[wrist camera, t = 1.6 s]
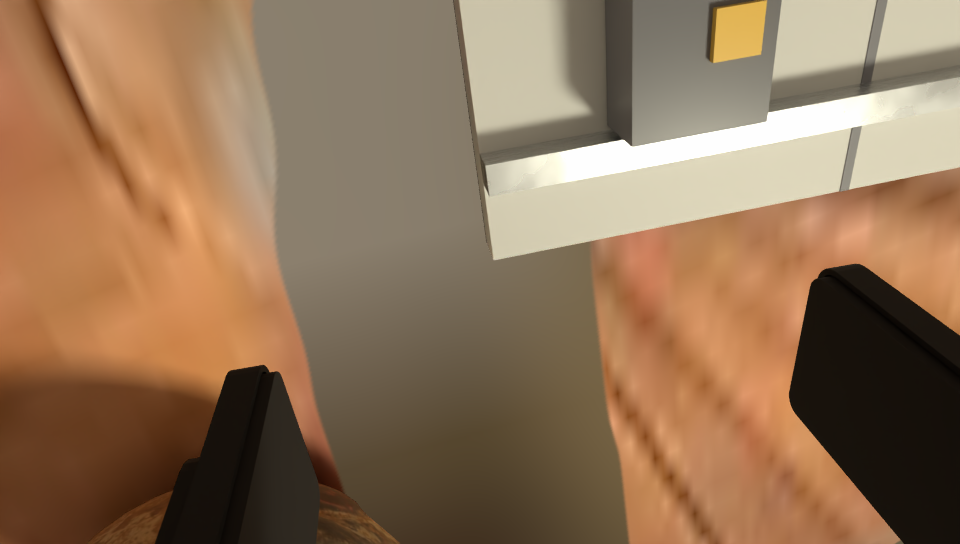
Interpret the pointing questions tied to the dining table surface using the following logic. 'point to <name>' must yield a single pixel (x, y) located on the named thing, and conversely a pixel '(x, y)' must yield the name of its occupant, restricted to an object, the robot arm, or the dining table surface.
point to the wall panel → (707, 157)
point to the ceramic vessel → (340, 534)
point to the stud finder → (688, 66)
